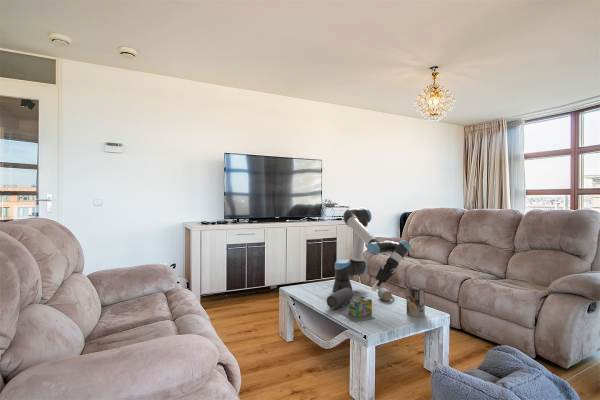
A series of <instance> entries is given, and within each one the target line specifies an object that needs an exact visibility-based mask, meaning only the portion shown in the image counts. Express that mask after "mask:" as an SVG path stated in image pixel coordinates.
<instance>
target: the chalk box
mask: <svg viewBox="0 0 600 400" xmlns="http://www.w3.org/2000/svg"><path fill="white" fill-rule="evenodd" d="M372 301H373V300H372V299H370V298H368V297H365V296H358V297H353V298H352V299H348V302H347V303H348V305H347V306H346V308H347V309H348V314H350V315H353V316H355V317H357V318H359V317H363V316H367V315H371V316H372V314H373V311H372V310H373V302H372Z"/></svg>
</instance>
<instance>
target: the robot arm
mask: <svg viewBox="0 0 600 400" xmlns="http://www.w3.org/2000/svg"><path fill="white" fill-rule="evenodd" d="M342 218H343V222H344V223H345V225H346V226H347V227H349V228H351V229H352V231H353V239H352V250H351V251H352V253H351V256H349V257H350V258H349V259H339V260H336V261H335V262H334V282H333V285H332V292H333V293H335V292H337V291H339V290H341V289H344V288H350V289H351V290H352V291H353V286H352V284H351V277H355V276H356V277H357V276H361V275H362V276H363V275H364V274H366V273H367V270H368V264H367V261H366V260H365V258H364V250H365V245H366V247H367V251H368V253H369V254H371V255H378V254H389V253H390V255H389V257H388V258H387V259H386V260H385V264H384V265H383V266H379V270H378V272H377V274H376V276H375V279H376V280H375V281H374V282H373V286H372V287H371V289H372V291H374V292H376V291H378V289H379V287H380V286H381V285H382V283H384V284H385V283H386V282H387V281H388V280H389V279H390V278H391V277H392V276H393V275H394V274H396V271H395V270H396V269H397V268H398V267H399V264H401V262H402V260H403V259H404V257H406V255H407V254H408V253H409V251H410V249H411V247H412V246H411V244H410V242H409V241H408V240H405V239H401V240H400V241H399V242H396V241H393V240H389V239H387V240H384V241H379V240H378V239H377V238H376V237H375V236H374V235H373V234H372V233H371V232H370V230H368V229H367V227H368V224H369V223H370V222H371V221H372V212H371V211H370V209H368V208H367V207H350V208H348V209H346V210H345V212H344V213H343V216H342Z"/></svg>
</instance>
